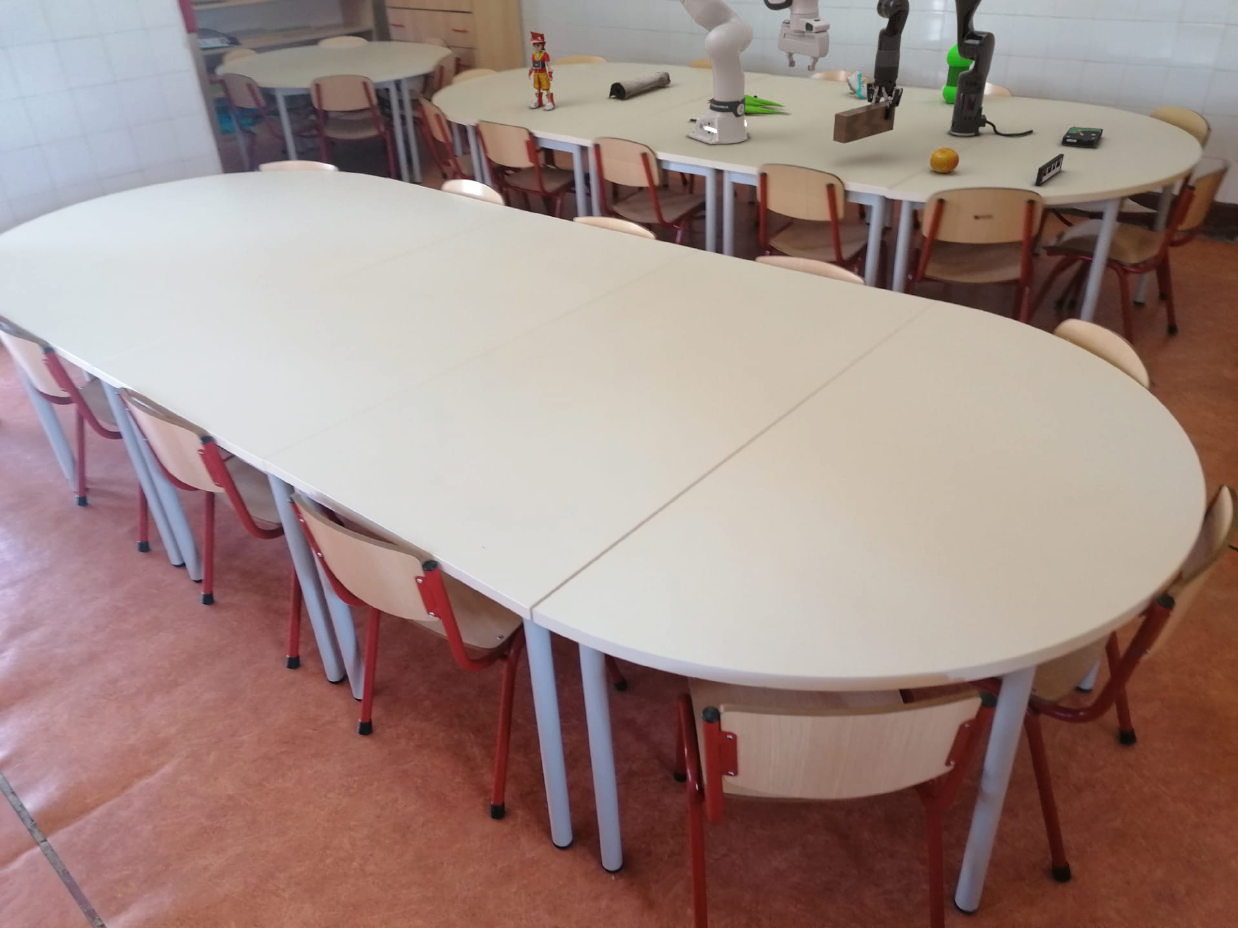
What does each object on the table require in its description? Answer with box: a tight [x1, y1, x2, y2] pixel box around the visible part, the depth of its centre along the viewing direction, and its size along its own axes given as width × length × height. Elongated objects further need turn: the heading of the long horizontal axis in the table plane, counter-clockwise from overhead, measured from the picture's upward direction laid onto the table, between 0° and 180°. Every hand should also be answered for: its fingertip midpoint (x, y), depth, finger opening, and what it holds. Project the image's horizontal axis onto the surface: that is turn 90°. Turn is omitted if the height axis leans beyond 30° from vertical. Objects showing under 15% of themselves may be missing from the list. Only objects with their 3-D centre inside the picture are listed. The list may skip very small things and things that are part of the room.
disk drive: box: [1061, 126, 1104, 148], centre depth 303 cm, size 10×3×15 cm
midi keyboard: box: [1035, 153, 1065, 186], centre depth 273 cm, size 18×1×5 cm, turn 138°
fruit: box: [929, 147, 960, 174], centre depth 283 cm, size 8×8×8 cm
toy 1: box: [527, 31, 556, 111], centre depth 374 cm, size 12×9×30 cm
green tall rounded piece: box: [942, 43, 974, 104], centre depth 348 cm, size 10×10×25 cm
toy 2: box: [744, 94, 786, 114], centre depth 359 cm, size 28×5×30 cm
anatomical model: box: [846, 70, 867, 100], centre depth 369 cm, size 15×10×10 cm
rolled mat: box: [608, 71, 672, 101], centre depth 395 cm, size 30×9×10 cm
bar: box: [832, 100, 897, 145], centre depth 293 cm, size 22×5×8 cm, turn 123°
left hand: (801, 69), depth 294 cm, fingers open, 8 cm apart
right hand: (881, 118), depth 297 cm, fingers closed on bar, 5 cm apart
